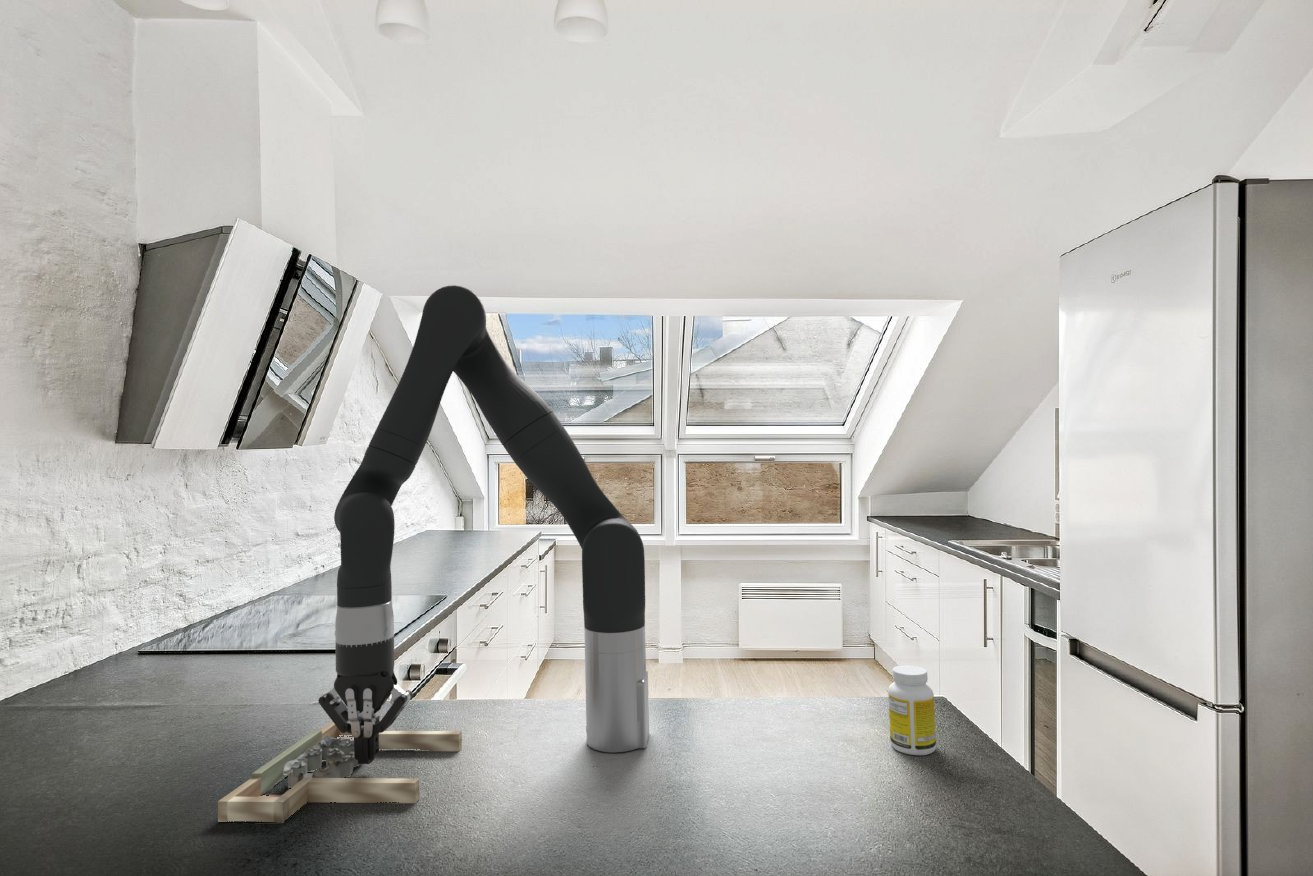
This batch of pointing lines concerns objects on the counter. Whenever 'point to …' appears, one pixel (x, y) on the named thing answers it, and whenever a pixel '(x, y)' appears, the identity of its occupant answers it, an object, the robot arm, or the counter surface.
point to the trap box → (329, 779)
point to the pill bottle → (911, 711)
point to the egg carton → (328, 749)
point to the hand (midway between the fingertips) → (366, 761)
